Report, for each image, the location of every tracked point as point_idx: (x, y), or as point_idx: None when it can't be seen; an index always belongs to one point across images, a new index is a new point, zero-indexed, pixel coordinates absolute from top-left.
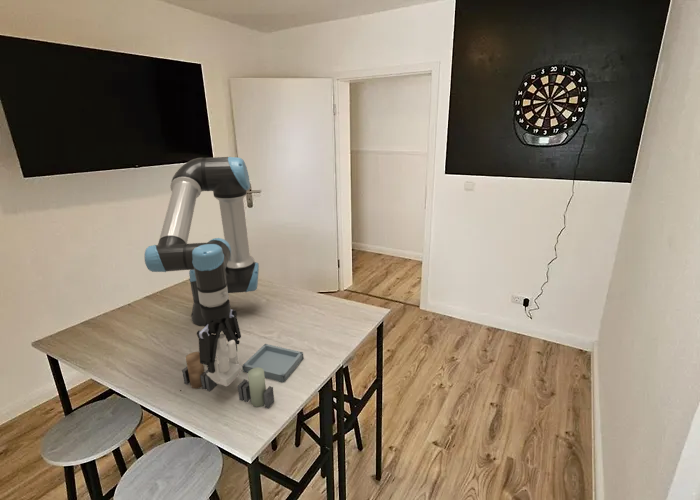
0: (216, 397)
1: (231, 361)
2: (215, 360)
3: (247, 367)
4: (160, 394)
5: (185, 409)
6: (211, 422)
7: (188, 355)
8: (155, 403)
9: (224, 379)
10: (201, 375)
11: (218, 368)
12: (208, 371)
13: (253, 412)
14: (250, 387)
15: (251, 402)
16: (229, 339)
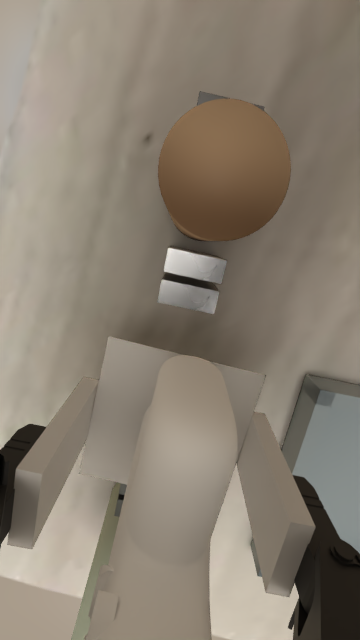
0: (131, 334)
1: (247, 434)
2: (30, 532)
3: (309, 414)
4: (100, 42)
5: (39, 240)
6: (4, 380)
7: (228, 114)
8: (38, 61)
9: (85, 461)
10: (167, 256)
11: (60, 487)
12: (19, 430)
13: (84, 498)
14: (94, 561)
15: (118, 485)
16: (306, 624)
